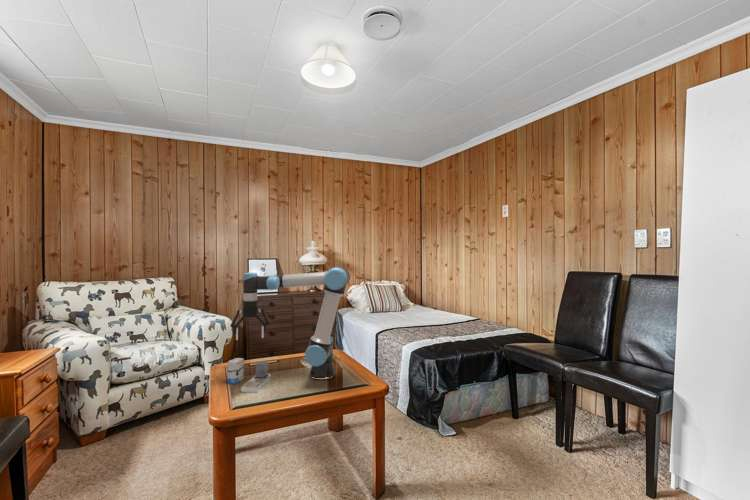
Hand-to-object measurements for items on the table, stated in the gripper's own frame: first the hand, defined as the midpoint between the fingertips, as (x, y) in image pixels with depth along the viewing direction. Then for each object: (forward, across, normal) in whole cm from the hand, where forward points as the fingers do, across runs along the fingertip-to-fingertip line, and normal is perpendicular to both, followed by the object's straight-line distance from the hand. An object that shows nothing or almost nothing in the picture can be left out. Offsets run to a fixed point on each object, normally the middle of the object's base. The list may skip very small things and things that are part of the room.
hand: (250, 338), depth 201 cm
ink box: (+23, +7, -3) cm, 25 cm away
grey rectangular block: (+23, -6, +2) cm, 24 cm away
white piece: (+23, -3, +8) cm, 25 cm away
